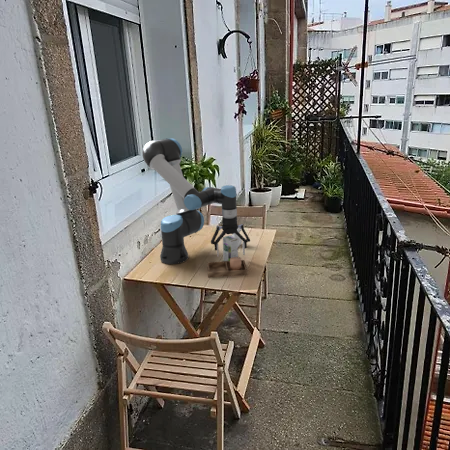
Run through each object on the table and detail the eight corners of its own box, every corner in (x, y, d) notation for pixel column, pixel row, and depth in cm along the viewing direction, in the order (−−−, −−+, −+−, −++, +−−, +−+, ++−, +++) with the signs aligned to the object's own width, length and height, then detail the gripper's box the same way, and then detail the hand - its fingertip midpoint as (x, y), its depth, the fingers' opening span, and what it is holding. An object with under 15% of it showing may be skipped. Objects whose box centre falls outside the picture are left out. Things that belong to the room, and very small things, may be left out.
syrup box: (223, 262, 199) (222, 237, 195) (231, 259, 203) (231, 234, 198) (229, 266, 195) (229, 240, 190) (238, 263, 198) (238, 237, 194)
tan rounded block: (230, 273, 185) (230, 261, 184) (229, 268, 191) (229, 257, 189) (242, 272, 186) (241, 261, 184) (240, 267, 191) (240, 256, 189)
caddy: (208, 279, 182) (208, 272, 181) (207, 268, 193) (207, 262, 192) (247, 276, 183) (247, 270, 182) (244, 266, 195) (244, 260, 193)
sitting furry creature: (224, 244, 223) (224, 225, 219) (235, 241, 228) (235, 222, 224) (234, 249, 216) (234, 230, 212) (246, 245, 221) (245, 226, 217)
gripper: (205, 220, 186) (207, 259, 193) (255, 217, 188) (255, 256, 195) (204, 215, 193) (206, 253, 200) (252, 212, 195) (253, 250, 202)
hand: (230, 255), depth 197 cm, fingers open, 13 cm apart
